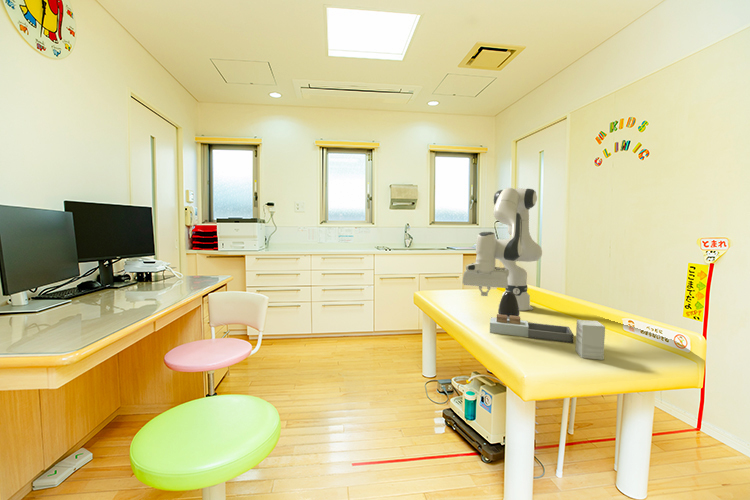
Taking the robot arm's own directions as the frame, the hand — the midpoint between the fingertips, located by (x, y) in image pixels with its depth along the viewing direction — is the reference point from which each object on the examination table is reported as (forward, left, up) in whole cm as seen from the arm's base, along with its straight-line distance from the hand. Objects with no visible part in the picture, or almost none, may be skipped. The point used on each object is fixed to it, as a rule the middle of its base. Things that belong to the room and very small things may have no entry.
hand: (484, 295), depth 154 cm
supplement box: (+19, +39, -16) cm, 46 cm away
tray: (0, +28, -16) cm, 32 cm away
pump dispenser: (-19, +11, -16) cm, 27 cm away
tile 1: (0, +8, -11) cm, 14 cm away
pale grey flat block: (0, +11, -16) cm, 19 cm away
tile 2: (0, +14, -11) cm, 18 cm away
